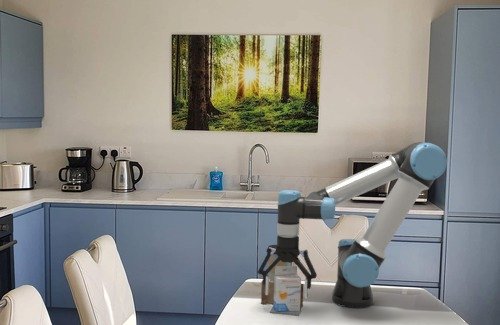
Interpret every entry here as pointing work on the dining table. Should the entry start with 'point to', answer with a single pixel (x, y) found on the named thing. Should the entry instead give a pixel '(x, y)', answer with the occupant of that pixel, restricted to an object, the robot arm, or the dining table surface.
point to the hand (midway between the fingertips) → (286, 295)
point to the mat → (286, 312)
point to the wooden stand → (270, 297)
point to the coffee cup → (280, 263)
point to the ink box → (287, 289)
